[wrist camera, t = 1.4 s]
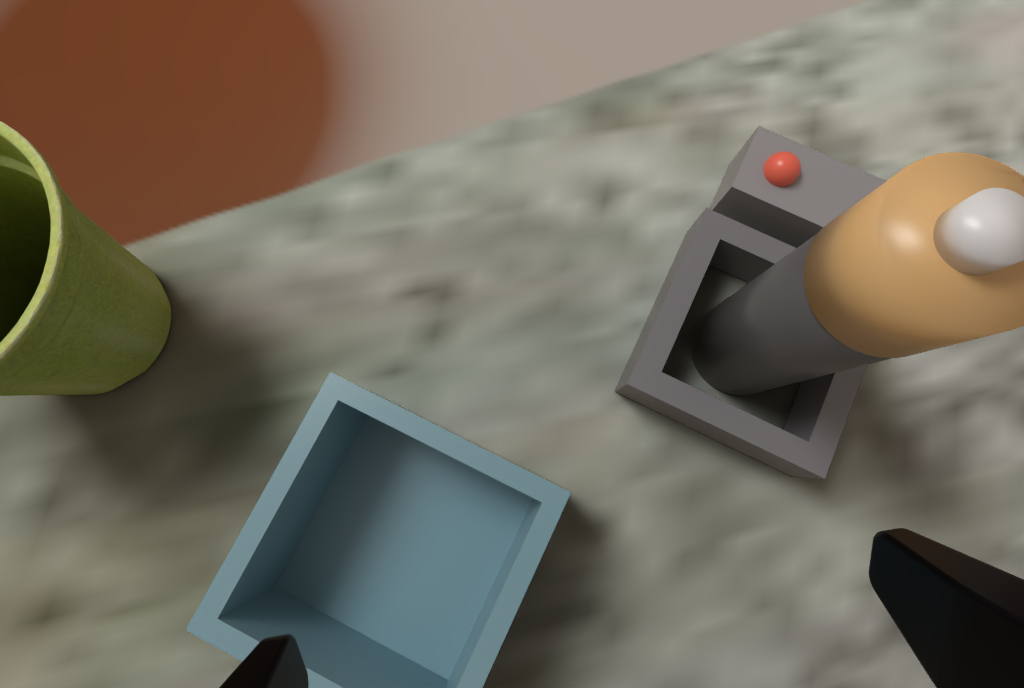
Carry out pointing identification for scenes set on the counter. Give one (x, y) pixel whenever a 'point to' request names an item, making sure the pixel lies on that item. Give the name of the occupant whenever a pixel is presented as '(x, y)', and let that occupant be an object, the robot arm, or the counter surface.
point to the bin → (383, 550)
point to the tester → (746, 254)
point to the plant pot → (67, 289)
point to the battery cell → (879, 281)
